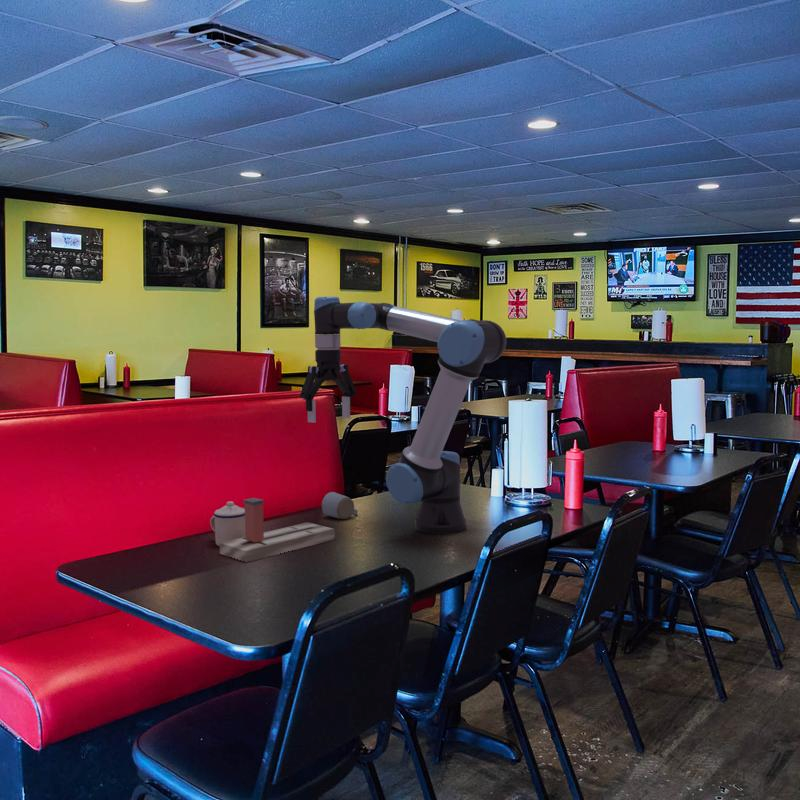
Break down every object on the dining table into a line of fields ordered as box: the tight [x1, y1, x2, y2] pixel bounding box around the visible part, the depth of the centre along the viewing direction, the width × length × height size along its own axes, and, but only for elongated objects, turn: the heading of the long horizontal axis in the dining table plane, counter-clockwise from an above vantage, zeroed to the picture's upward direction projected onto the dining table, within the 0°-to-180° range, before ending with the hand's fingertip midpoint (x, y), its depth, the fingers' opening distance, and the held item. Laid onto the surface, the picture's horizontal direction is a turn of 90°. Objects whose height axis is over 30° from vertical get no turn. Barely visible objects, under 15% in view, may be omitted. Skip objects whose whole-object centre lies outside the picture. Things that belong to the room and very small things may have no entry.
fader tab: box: [242, 497, 265, 542], centre depth 217 cm, size 4×3×11 cm
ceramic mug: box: [321, 491, 359, 520], centre depth 257 cm, size 11×8×8 cm
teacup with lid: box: [209, 501, 245, 547], centre depth 228 cm, size 12×9×12 cm
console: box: [219, 521, 336, 563], centre depth 224 cm, size 12×30×3 cm, turn 136°
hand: (329, 420), depth 245 cm, fingers open, 13 cm apart
